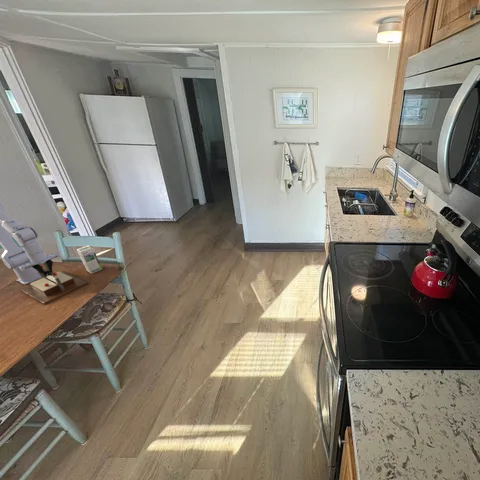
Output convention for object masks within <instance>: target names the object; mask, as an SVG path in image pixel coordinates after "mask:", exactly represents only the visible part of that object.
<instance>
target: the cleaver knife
mask: <svg viewBox="0 0 480 480" xmlns="http://www.w3.org/2000/svg"><path fill="white" fill-rule="evenodd" d="M43 270H44V272H45V274H46V275H47V277H44V278H46V279H48V280H50V281H52V282H54V283H56V284H57V282H56V280H55V277H54V276H52V273H51V272H49V271H47V269H45V268H43ZM57 285H58V284H57Z"/></svg>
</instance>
